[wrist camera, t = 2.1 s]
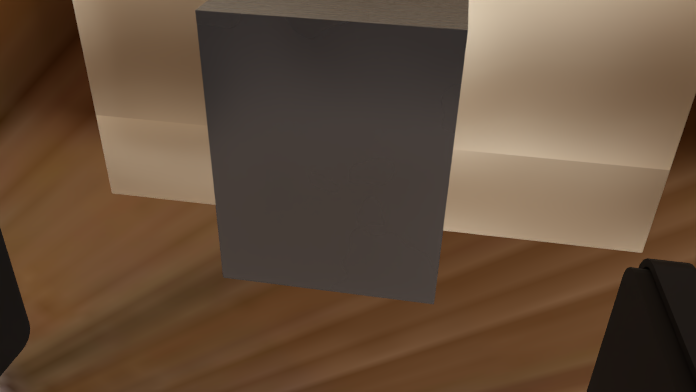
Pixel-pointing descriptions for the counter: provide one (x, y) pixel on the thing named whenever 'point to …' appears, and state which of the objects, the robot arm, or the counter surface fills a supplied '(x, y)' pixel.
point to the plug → (333, 139)
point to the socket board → (472, 120)
